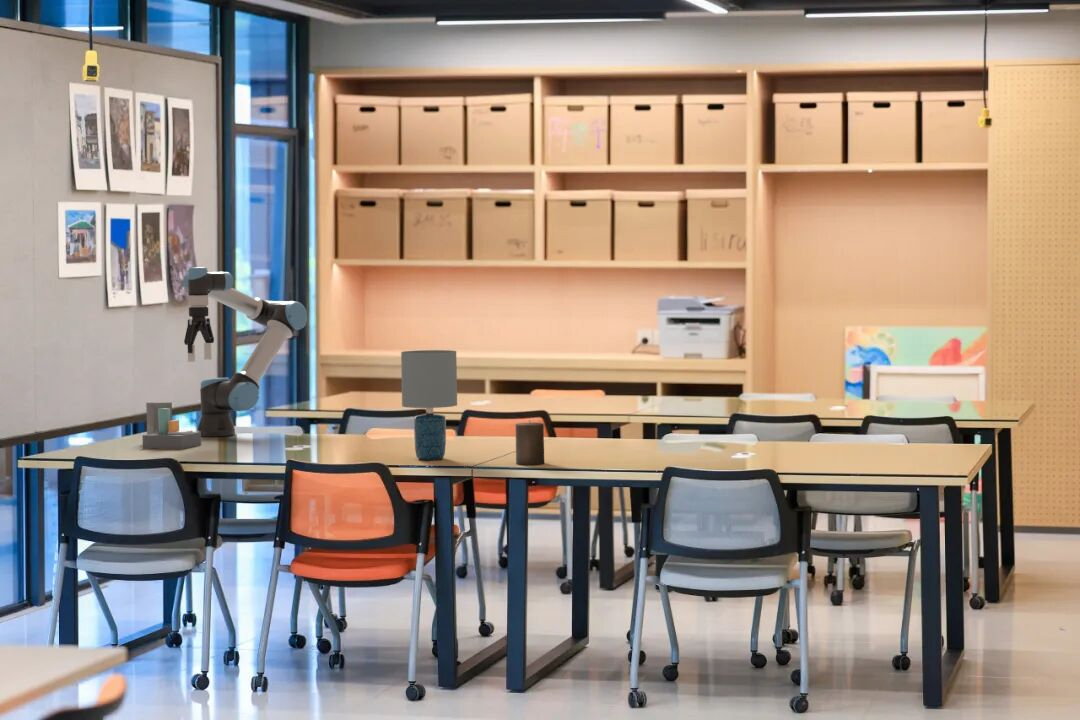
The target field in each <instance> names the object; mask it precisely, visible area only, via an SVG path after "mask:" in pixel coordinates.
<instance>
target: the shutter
mask: <svg viewBox="0 0 1080 720" xmlns="http://www.w3.org/2000/svg"><path fill="white" fill-rule="evenodd" d="M168 424H169V432H168V434H187V433H192V432H193V430H192V429H191V430H190V429H189V430H188V429H180V420H179V419H174V420H173V419H172V421H168Z"/></svg>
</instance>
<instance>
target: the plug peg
mask: <svg viewBox="0 0 1080 720" xmlns="http://www.w3.org/2000/svg"><path fill="white" fill-rule="evenodd" d="M158 420H159V434H168V432H169V424H168V421H170V408H161V409H158Z"/></svg>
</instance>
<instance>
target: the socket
mask: <svg viewBox="0 0 1080 720" xmlns="http://www.w3.org/2000/svg"><path fill="white" fill-rule="evenodd" d="M141 436H142V449H145V448H167V449H166V450H184V449H188V447H189V448H191V447H192V446H193V447H196V446H201V445H202V436H201V432H197V431H192V433H187V434H159V432H156V433H151V434H147V433H146V434H143V435H141Z"/></svg>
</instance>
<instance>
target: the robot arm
mask: <svg viewBox="0 0 1080 720" xmlns="http://www.w3.org/2000/svg"><path fill="white" fill-rule="evenodd" d="M182 285H183V288H184V289H185V290H187V291H188V298H187V300H188V306H189V307H188V316H189V317H191V318H190V319H187V326H186V331H185V336H184V340H183V343H184V345H185V346H187V362H192V363H193V362H196V345H195V344H194V343H195V341H196V338H197V335H198V333H199V332H200V334H201V336H202V339H203V340H204V343H203V350H204V351H203V356H204V358H203V359H204V360H207V361H208V360H210V361H211V360H212V344H213V343H215V342H214V341H215V337H214V334H213V330H212V326H211V319H210V318H209V317H208V316H209V307H208V306H209V299H212V300H213V301H215V302H218V303H221V304H222V305H225V306H227V307H229V308H231V309H233V310H235V311H238V312H240V313H242V314H243V315H245V316H246V318H247V319H249V320H251V321H253V322H255V323H257V324H259V325H261V326H263V327H266V328H267V329H266V331H265V333H264V334H263V335H262V337H261V339H260V340H259V342H258V343H257V345H256V346H255V348H254V349H253V350H252V353H251V355H250V356H249V357H248V359H247V360H246V361H245V363H244V366H243V367H242V369H240V371H238V372H235V373H234V374H233V375H232V377H231V378H230V377H216V378H209V379H204V380H201V382H200V389H199V392H200V415H201V416H200V420H199V423H198V425H197V431H196V432H201V437H228V436H234V435H235V434H236V428H235V425H234V421H233V419H232V416H231V411H235V412H246V411H250V410H251V409H254V408H255V406H256V405H257V404H258V401H259V399H260V396H259V395H260V384H259V383H260V382H261V380H262V378H263V376H264V375H265V373H266V371H267V370H268V368H269V367H270V366H271V364H272V362H273V360H274V359H275V358H276V356H277V354H278V352H279V351H280V350H281V347H282V346H283V345H284V343H285V341H286V340H287V339H291V338H292V337H293V335H294V334H295V332H296V331H297V330H298V331H300V330H302V329H303V328H304V327H306V325H307V322H308V314H307V312H308V311H307V309H306V307H305V306H304V305H303V304H302V303H301V302H299V301H294V300H289V301H288V300H287V301H286V300H285V301H284V300H265V299H261V298H259V297H252V296H250V295H248V294H245V293H243V292H241V291H239V290H238V289H236V288H233V286H234V277H233V275H232V274H231V272H228V271H208V268H207V267H206V266H202V267H201V266H194V267H189V268H188V271H187V273H186V274H185V275H184V276H183V278H182Z"/></svg>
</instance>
